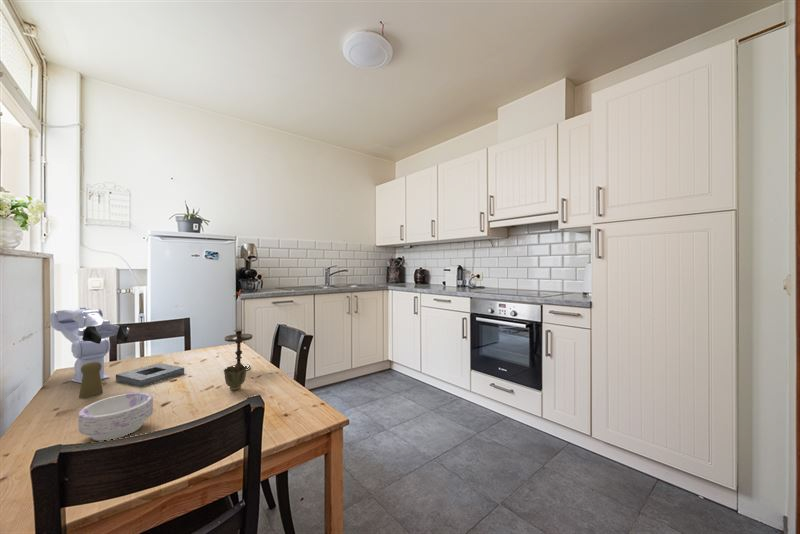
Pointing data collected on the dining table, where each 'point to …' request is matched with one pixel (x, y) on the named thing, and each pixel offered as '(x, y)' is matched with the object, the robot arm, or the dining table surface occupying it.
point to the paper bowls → (115, 416)
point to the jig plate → (149, 374)
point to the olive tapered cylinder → (91, 380)
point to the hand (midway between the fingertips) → (113, 340)
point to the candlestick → (238, 333)
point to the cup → (235, 376)
